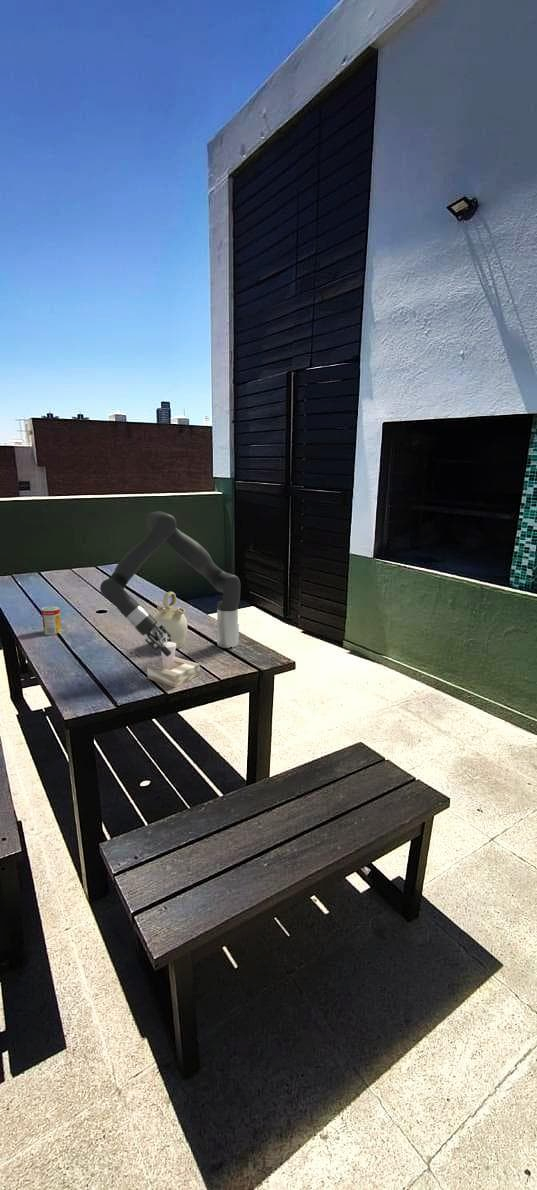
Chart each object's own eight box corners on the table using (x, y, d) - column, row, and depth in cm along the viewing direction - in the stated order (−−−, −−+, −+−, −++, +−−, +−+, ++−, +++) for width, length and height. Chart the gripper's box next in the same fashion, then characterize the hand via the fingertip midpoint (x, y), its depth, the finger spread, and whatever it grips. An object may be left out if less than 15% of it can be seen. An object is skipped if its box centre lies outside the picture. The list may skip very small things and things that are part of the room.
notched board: (172, 666, 197) (172, 656, 196) (199, 674, 190) (199, 664, 189) (147, 678, 186) (147, 667, 185) (175, 687, 179) (175, 676, 178)
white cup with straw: (161, 664, 191) (160, 630, 188) (177, 664, 192) (177, 630, 188) (159, 671, 185) (158, 636, 182) (176, 671, 186) (175, 636, 182)
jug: (194, 645, 222) (193, 591, 215) (166, 653, 211) (164, 597, 204) (174, 636, 232) (173, 585, 225) (146, 644, 221) (144, 591, 214)
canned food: (62, 629, 238) (60, 605, 235) (61, 634, 231) (59, 610, 228) (44, 630, 236) (42, 606, 233) (43, 635, 229) (40, 611, 226)
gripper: (141, 619, 177) (173, 652, 179) (154, 608, 191) (184, 639, 193) (127, 632, 179) (159, 664, 181) (142, 620, 193) (171, 650, 194)
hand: (172, 651), depth 187 cm, fingers closed on white cup with straw, 6 cm apart
